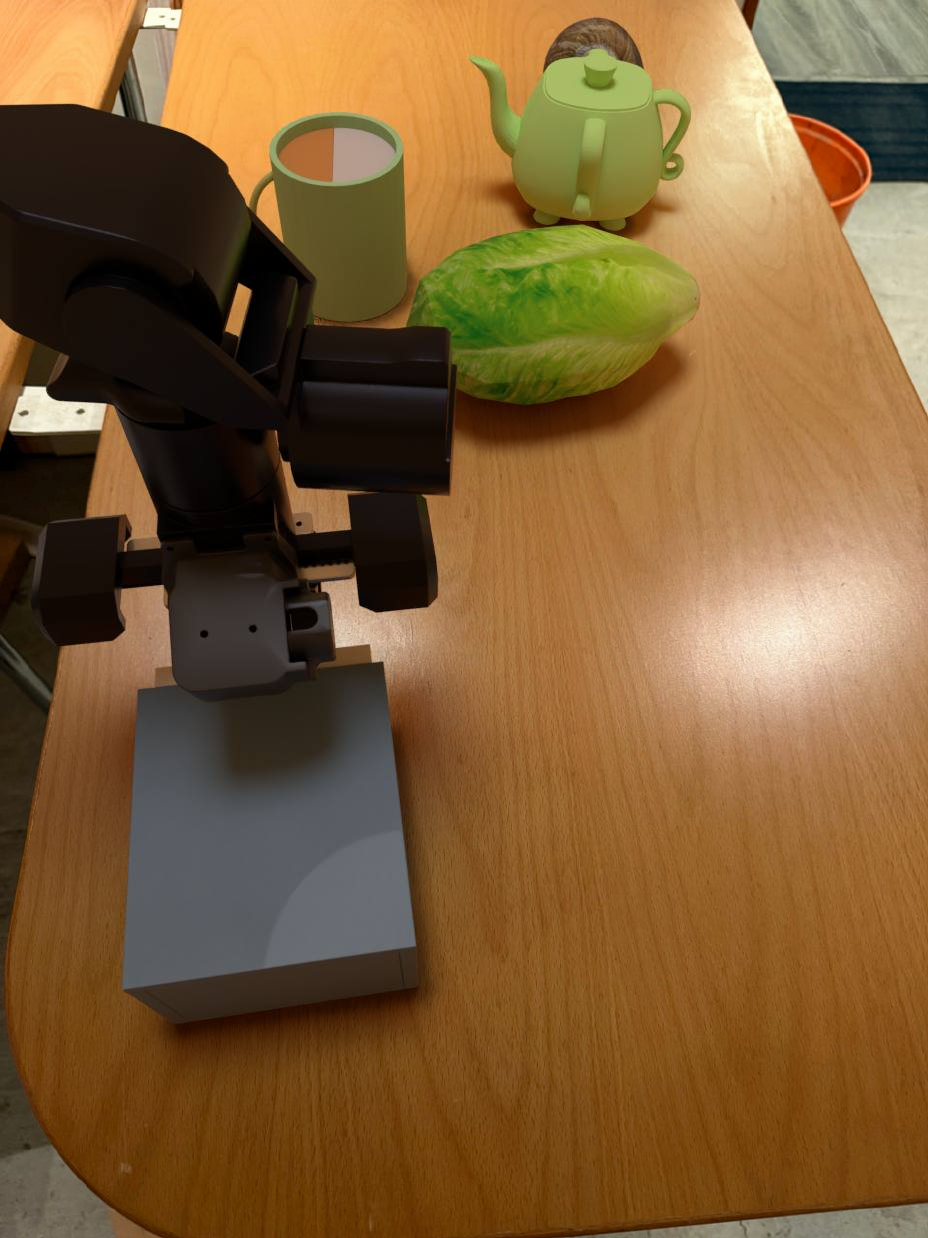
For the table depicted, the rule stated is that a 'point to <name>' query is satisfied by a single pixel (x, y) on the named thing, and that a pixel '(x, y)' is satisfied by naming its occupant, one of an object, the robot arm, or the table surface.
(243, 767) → the cabinet
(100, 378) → the robot arm
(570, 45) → the seashell
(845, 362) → the table surface
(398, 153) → the mug
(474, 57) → the teapot
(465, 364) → the lettuce
